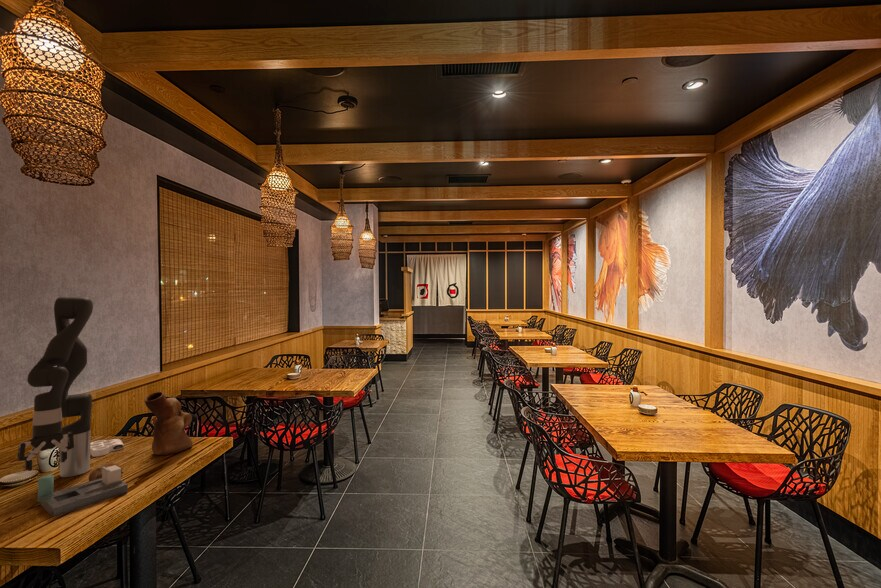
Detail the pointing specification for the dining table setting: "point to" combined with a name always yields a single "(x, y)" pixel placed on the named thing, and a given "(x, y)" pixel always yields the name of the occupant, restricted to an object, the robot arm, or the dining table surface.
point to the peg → (45, 485)
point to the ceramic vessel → (168, 424)
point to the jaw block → (111, 474)
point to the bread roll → (100, 471)
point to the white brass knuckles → (105, 447)
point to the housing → (81, 496)
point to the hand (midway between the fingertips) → (46, 466)
